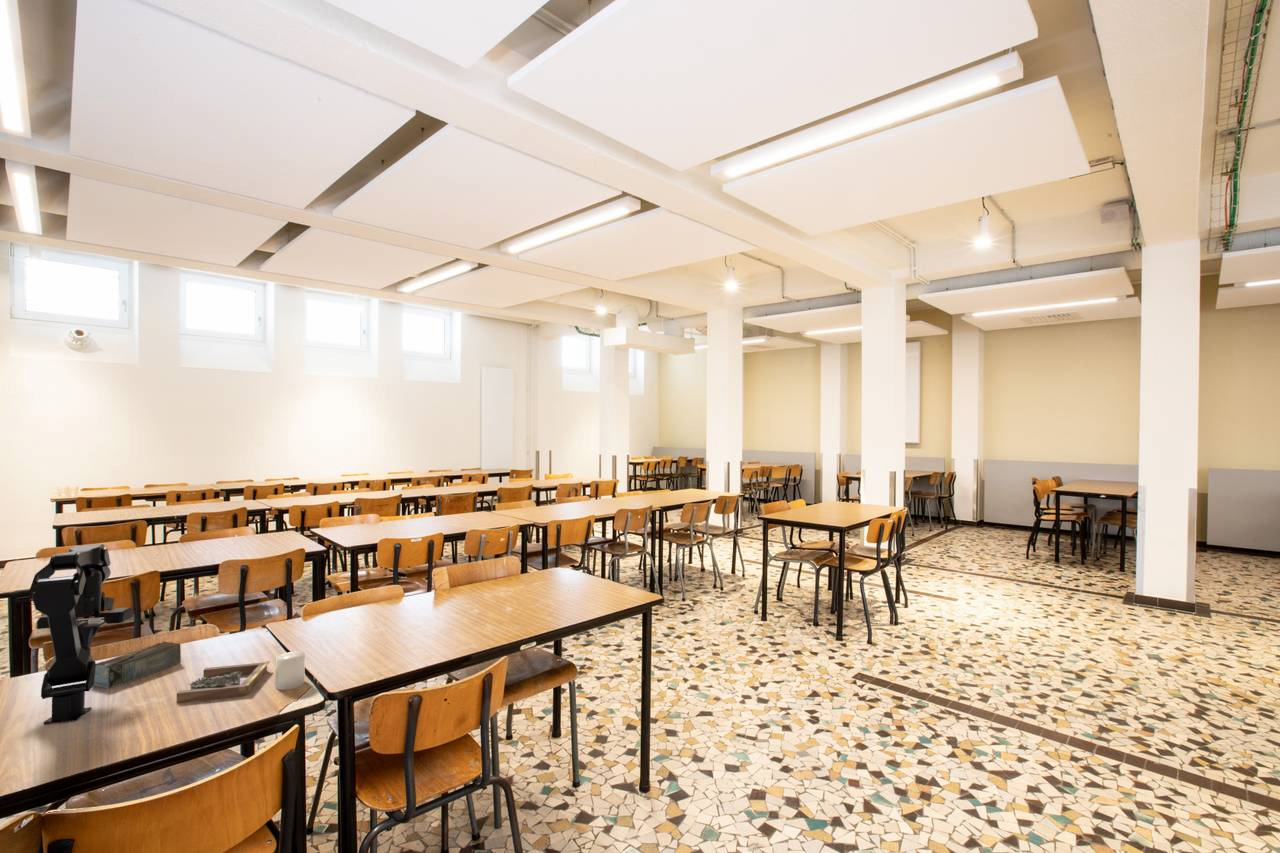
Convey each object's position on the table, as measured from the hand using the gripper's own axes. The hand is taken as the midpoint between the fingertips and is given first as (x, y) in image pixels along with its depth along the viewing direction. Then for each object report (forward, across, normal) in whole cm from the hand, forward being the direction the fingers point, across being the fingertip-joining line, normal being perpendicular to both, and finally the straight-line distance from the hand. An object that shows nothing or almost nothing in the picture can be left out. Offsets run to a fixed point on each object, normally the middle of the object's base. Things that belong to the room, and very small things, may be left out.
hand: (85, 649), depth 154 cm
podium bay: (+12, -34, +4) cm, 36 cm away
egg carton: (+12, -33, +7) cm, 36 cm away
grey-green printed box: (+12, -6, -12) cm, 19 cm away
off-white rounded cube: (+12, -51, +8) cm, 53 cm away
